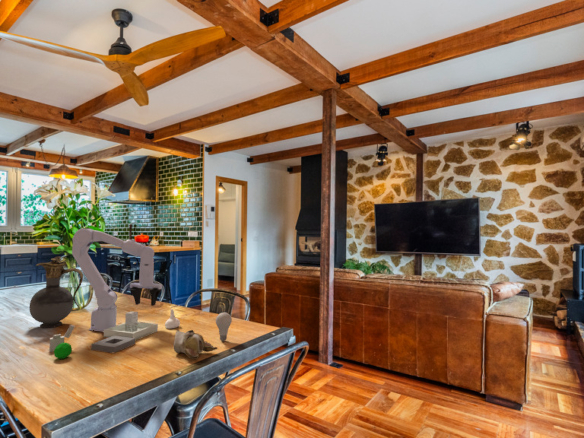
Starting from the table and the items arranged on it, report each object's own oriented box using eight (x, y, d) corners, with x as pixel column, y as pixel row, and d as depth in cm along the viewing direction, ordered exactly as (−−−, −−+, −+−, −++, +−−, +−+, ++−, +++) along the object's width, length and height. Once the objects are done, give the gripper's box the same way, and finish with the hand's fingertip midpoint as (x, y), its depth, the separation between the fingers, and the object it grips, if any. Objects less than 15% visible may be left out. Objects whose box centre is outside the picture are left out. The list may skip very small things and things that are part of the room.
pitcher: (27, 326, 145) (30, 256, 147) (79, 319, 158) (81, 255, 159) (29, 332, 137) (32, 258, 138) (83, 324, 150) (86, 256, 151)
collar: (91, 349, 119) (91, 343, 119) (113, 340, 128) (114, 335, 128) (113, 353, 116) (113, 347, 116) (135, 343, 125) (135, 338, 125)
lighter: (49, 351, 116) (50, 328, 116) (49, 350, 117) (50, 327, 117) (74, 347, 120) (74, 325, 120) (73, 346, 122) (74, 324, 122)
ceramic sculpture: (188, 322, 124) (219, 331, 117) (186, 345, 124) (218, 355, 117) (165, 329, 114) (198, 339, 107) (163, 355, 114) (196, 366, 107)
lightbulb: (234, 339, 132) (234, 311, 132) (226, 344, 126) (226, 315, 126) (220, 337, 134) (221, 310, 134) (212, 342, 128) (212, 313, 128)
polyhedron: (68, 354, 114) (69, 339, 114) (74, 357, 111) (74, 343, 111) (51, 358, 110) (52, 343, 110) (56, 362, 107) (56, 347, 107)
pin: (124, 333, 135) (125, 313, 136) (130, 330, 138) (131, 311, 139) (131, 333, 134) (132, 313, 135) (137, 331, 138) (137, 311, 138)
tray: (103, 337, 132) (104, 329, 132) (130, 327, 145) (130, 320, 146) (132, 341, 128) (132, 333, 128) (157, 331, 141) (157, 323, 141)
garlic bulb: (174, 330, 144) (175, 311, 144) (162, 328, 145) (162, 310, 145) (182, 326, 150) (182, 308, 150) (169, 325, 151) (170, 307, 151)
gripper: (125, 274, 146) (124, 305, 146) (156, 275, 144) (155, 307, 143) (136, 272, 153) (135, 302, 153) (165, 273, 151) (164, 304, 150)
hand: (145, 304), depth 148 cm, fingers open, 7 cm apart
